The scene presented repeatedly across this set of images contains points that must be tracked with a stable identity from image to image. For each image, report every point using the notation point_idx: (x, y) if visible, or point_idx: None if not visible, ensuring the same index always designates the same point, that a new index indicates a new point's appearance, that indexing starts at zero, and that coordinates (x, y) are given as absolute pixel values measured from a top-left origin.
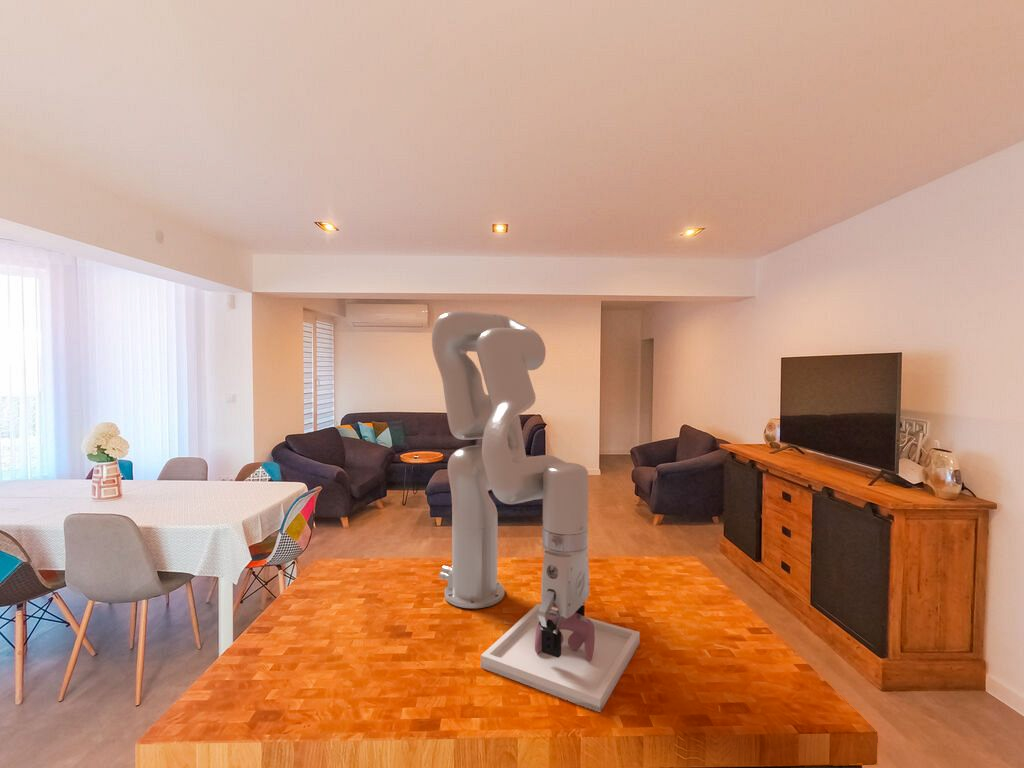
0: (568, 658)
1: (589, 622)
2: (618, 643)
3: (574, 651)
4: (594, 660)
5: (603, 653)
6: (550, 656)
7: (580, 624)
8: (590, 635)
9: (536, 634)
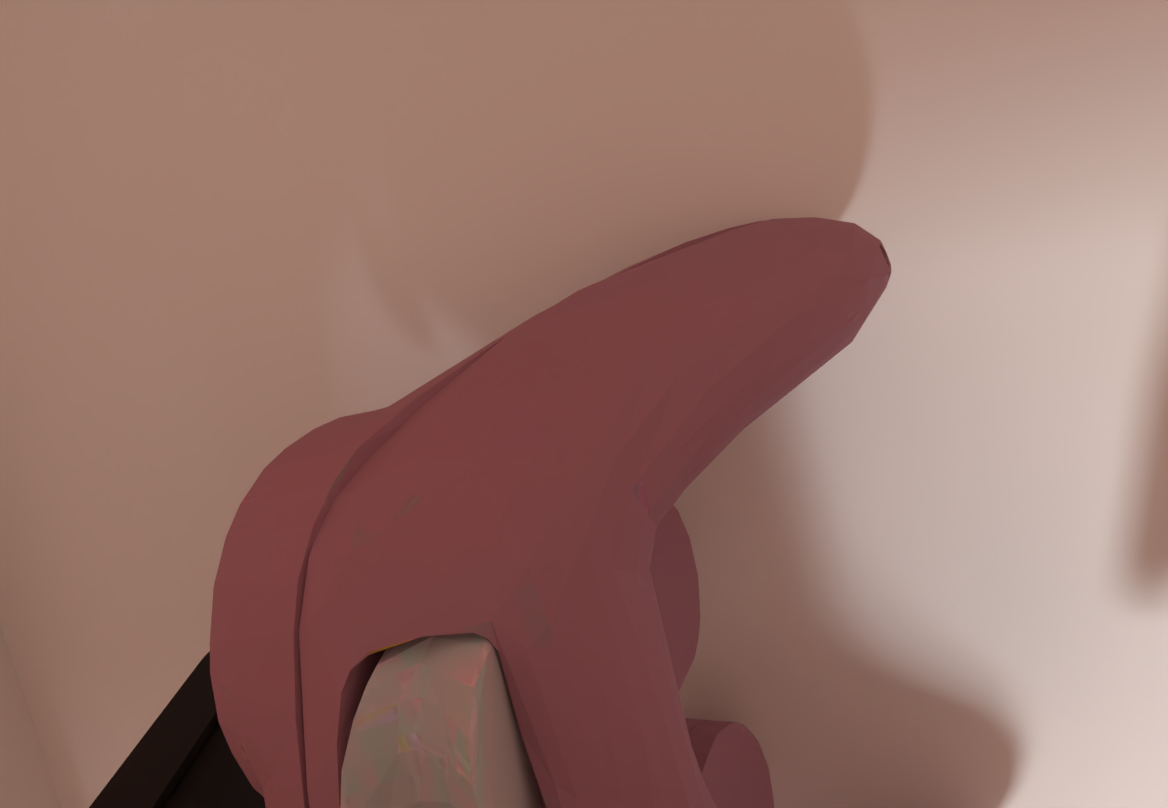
0: (863, 517)
1: (422, 596)
2: (36, 55)
3: None
4: (716, 192)
5: (458, 151)
6: (935, 709)
7: (655, 735)
8: (668, 389)
9: None
